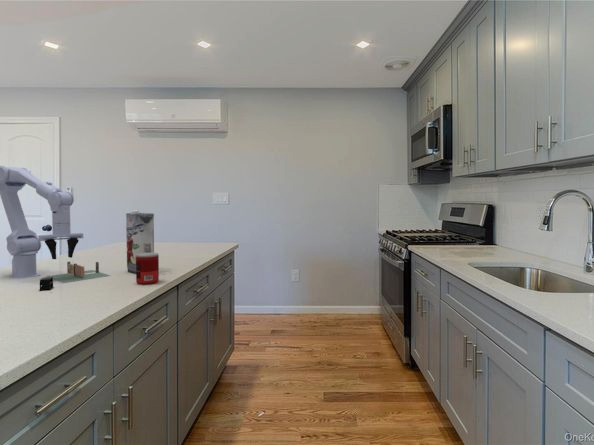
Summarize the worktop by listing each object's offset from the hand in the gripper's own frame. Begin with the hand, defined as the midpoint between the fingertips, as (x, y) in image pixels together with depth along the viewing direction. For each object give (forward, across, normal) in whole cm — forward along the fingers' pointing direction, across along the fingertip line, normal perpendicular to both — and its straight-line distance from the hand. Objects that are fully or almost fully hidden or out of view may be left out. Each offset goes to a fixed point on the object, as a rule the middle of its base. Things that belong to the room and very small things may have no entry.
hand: (62, 258), depth 134 cm
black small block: (+9, -9, -13) cm, 19 cm away
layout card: (+8, +6, +1) cm, 10 cm away
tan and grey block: (+8, +10, +6) cm, 14 cm away
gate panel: (+8, +5, -1) cm, 9 cm away
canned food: (+9, +18, -29) cm, 35 cm away
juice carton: (+9, +26, -9) cm, 29 cm away
